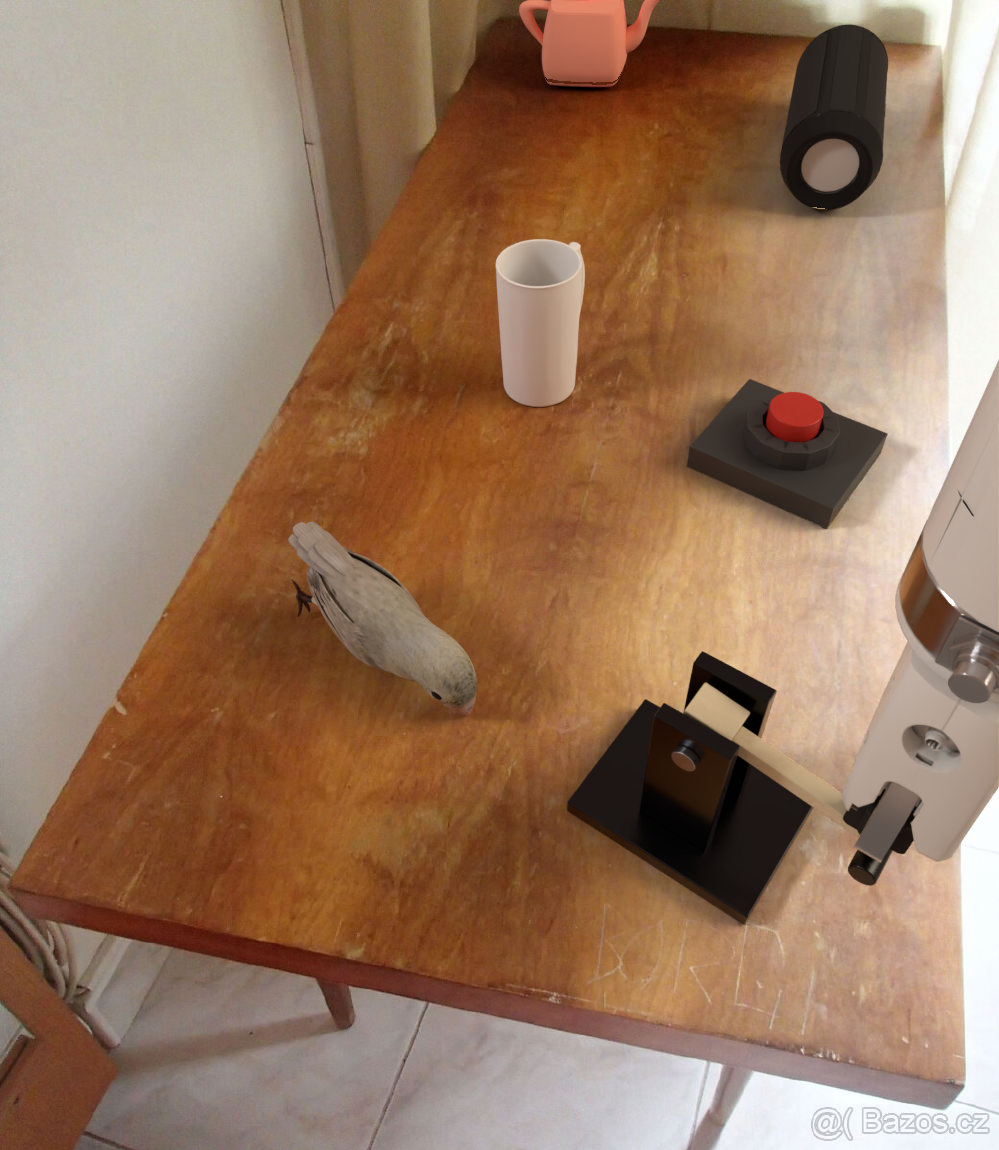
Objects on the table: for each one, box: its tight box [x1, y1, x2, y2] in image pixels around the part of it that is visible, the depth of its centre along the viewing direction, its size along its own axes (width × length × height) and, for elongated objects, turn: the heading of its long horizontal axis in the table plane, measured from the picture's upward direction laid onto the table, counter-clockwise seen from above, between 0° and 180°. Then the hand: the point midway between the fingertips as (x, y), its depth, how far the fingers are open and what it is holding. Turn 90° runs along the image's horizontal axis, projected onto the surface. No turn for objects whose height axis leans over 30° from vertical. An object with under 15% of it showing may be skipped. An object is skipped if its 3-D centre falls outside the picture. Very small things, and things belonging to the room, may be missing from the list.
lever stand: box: [566, 650, 815, 926], centre depth 55 cm, size 12×9×12 cm
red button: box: [766, 391, 824, 443], centre depth 75 cm, size 4×4×2 cm
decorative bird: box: [287, 521, 478, 717], centre depth 65 cm, size 5×16×8 cm, turn 47°
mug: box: [495, 238, 586, 408], centre depth 82 cm, size 10×7×12 cm, turn 144°
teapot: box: [518, 0, 661, 88], centre depth 121 cm, size 12×18×10 cm, turn 81°
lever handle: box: [682, 683, 894, 887], centre depth 51 cm, size 12×5×2 cm, turn 53°
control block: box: [686, 378, 888, 530], centre depth 77 cm, size 12×10×4 cm
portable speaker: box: [779, 24, 889, 211], centre depth 105 cm, size 26×10×10 cm, turn 165°
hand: (878, 825), depth 49 cm, fingers closed
